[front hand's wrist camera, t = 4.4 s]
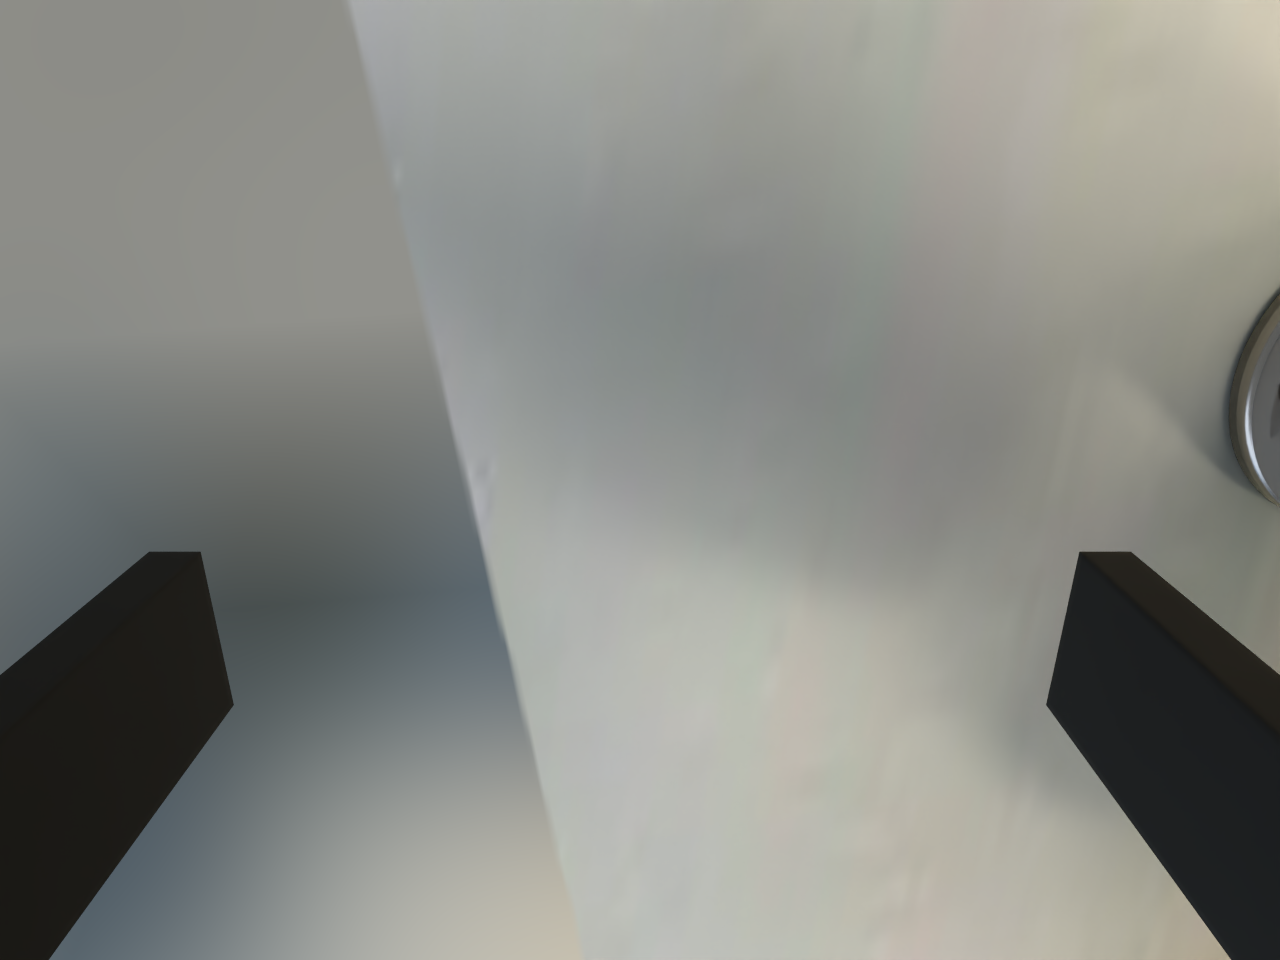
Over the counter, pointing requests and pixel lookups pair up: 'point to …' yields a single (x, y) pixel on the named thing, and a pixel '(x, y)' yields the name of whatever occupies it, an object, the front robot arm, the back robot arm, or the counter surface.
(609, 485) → the counter surface
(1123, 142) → the counter surface
